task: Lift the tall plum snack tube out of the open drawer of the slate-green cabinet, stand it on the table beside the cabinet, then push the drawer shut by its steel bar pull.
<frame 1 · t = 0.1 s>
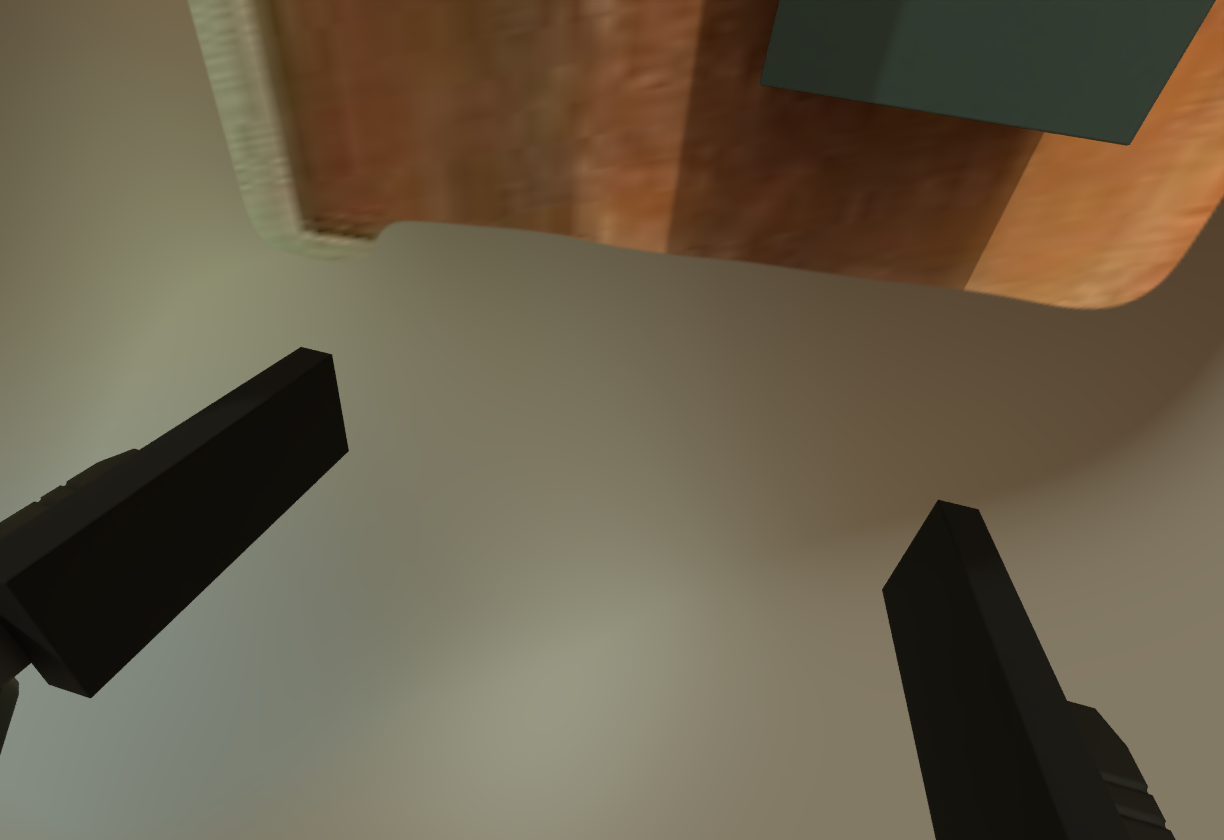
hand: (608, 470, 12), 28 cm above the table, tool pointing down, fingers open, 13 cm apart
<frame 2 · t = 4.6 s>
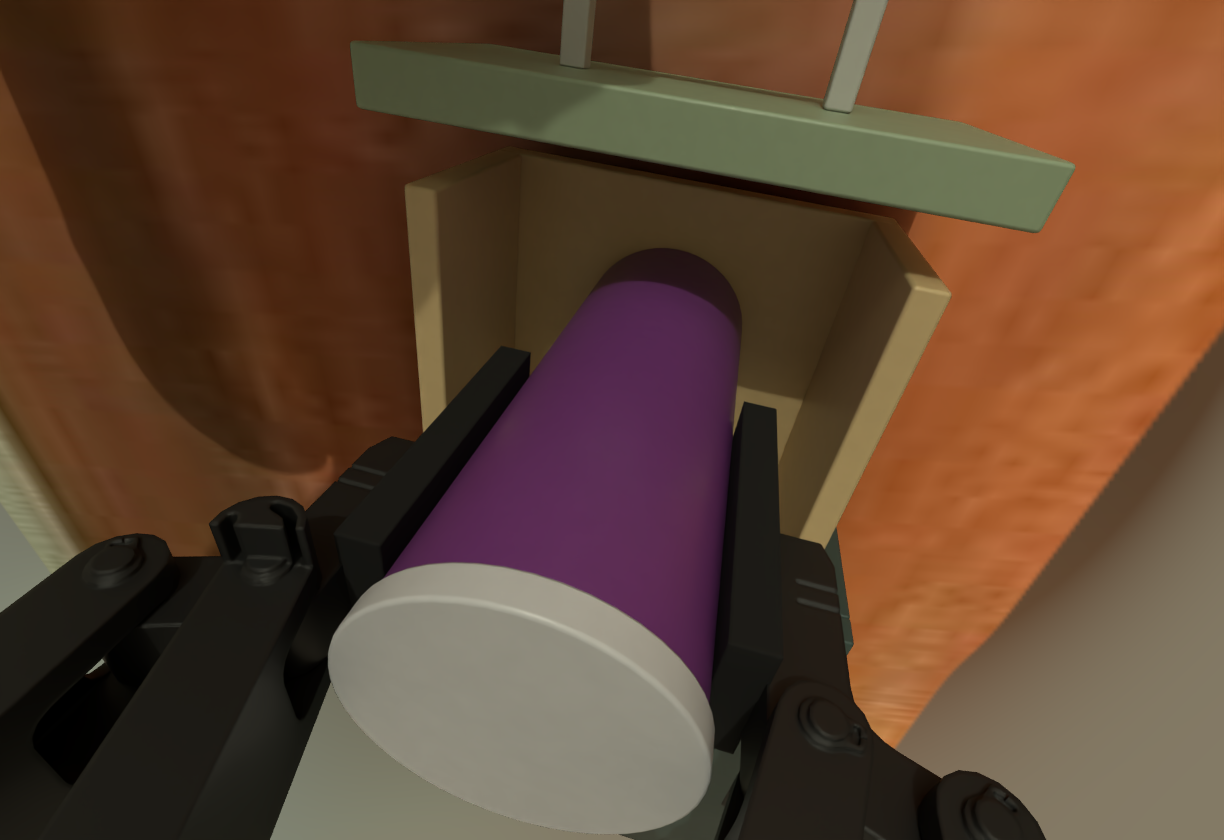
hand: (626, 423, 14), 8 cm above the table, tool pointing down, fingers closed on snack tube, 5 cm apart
cabinet: (621, 552, 28), on the table
snack tube: (663, 324, 19), point 2 cm above the table, touching drawer, gripper
drawer: (659, 314, 16), point 4 cm above the table, slide at 11.0 cm, touching snack tube
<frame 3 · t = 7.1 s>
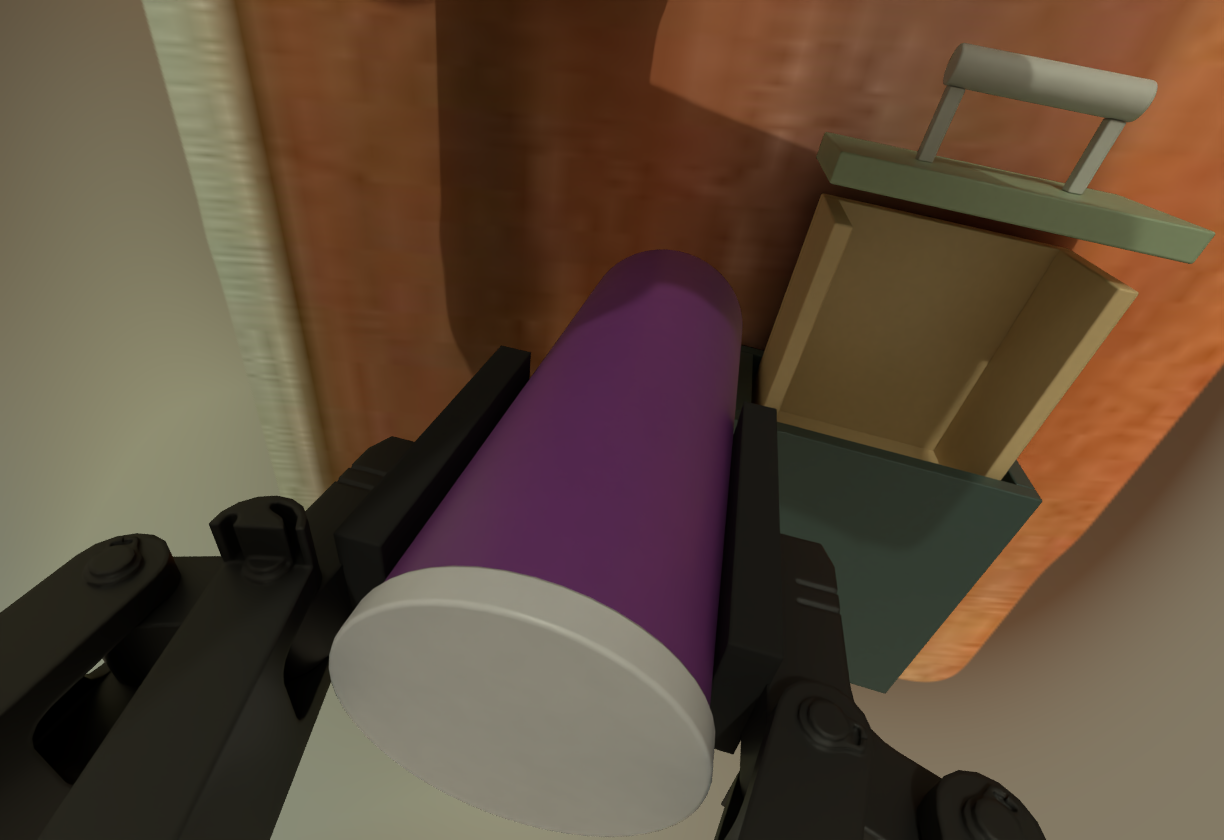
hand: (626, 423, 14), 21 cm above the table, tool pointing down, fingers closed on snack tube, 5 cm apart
cabinet: (808, 478, 39), on the table
snack tube: (663, 326, 19), point 15 cm above the table, touching gripper
drawer: (927, 301, 27), point 4 cm above the table, slide at 11.0 cm
when the fingers open (6 cm above the table, at t = 9.9 s): snack tube stays where it is, on the table.
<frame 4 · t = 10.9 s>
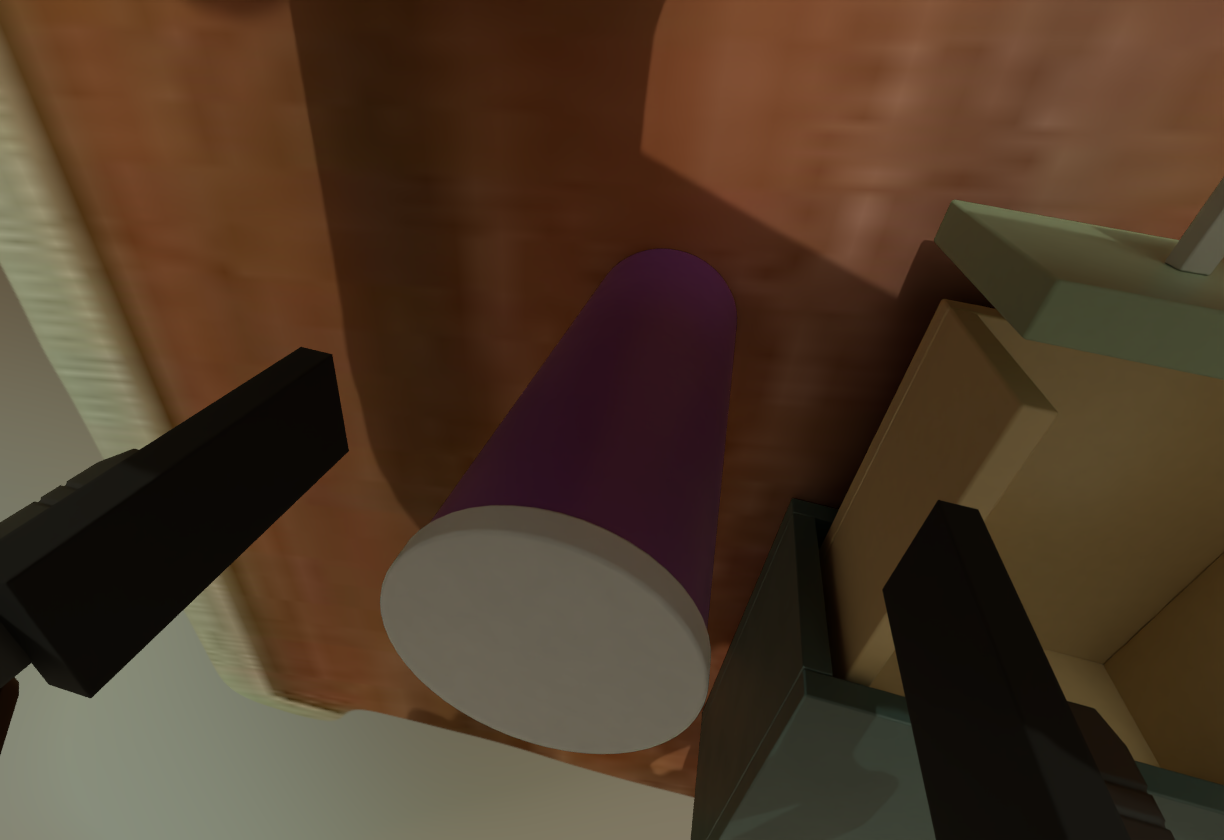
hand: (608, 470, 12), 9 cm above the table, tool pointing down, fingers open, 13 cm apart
cabinet: (891, 664, 27), on the table
snack tube: (663, 320, 20), on the table
drawer: (1146, 492, 15), point 4 cm above the table, slide at 11.0 cm
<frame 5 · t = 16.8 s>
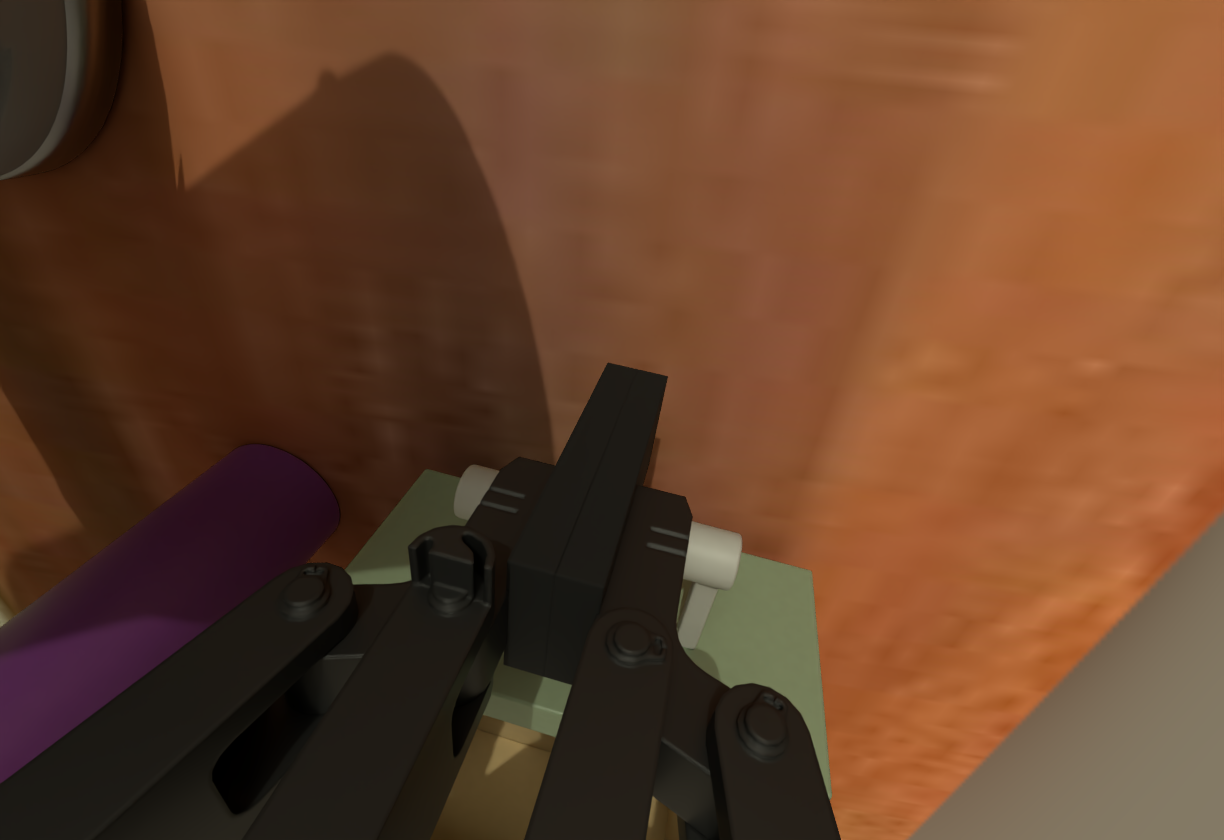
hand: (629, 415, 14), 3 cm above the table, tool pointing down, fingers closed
snack tube: (283, 493, 24), on the table
drawer: (567, 701, 20), point 4 cm above the table, slide at 9.8 cm, touching gripper
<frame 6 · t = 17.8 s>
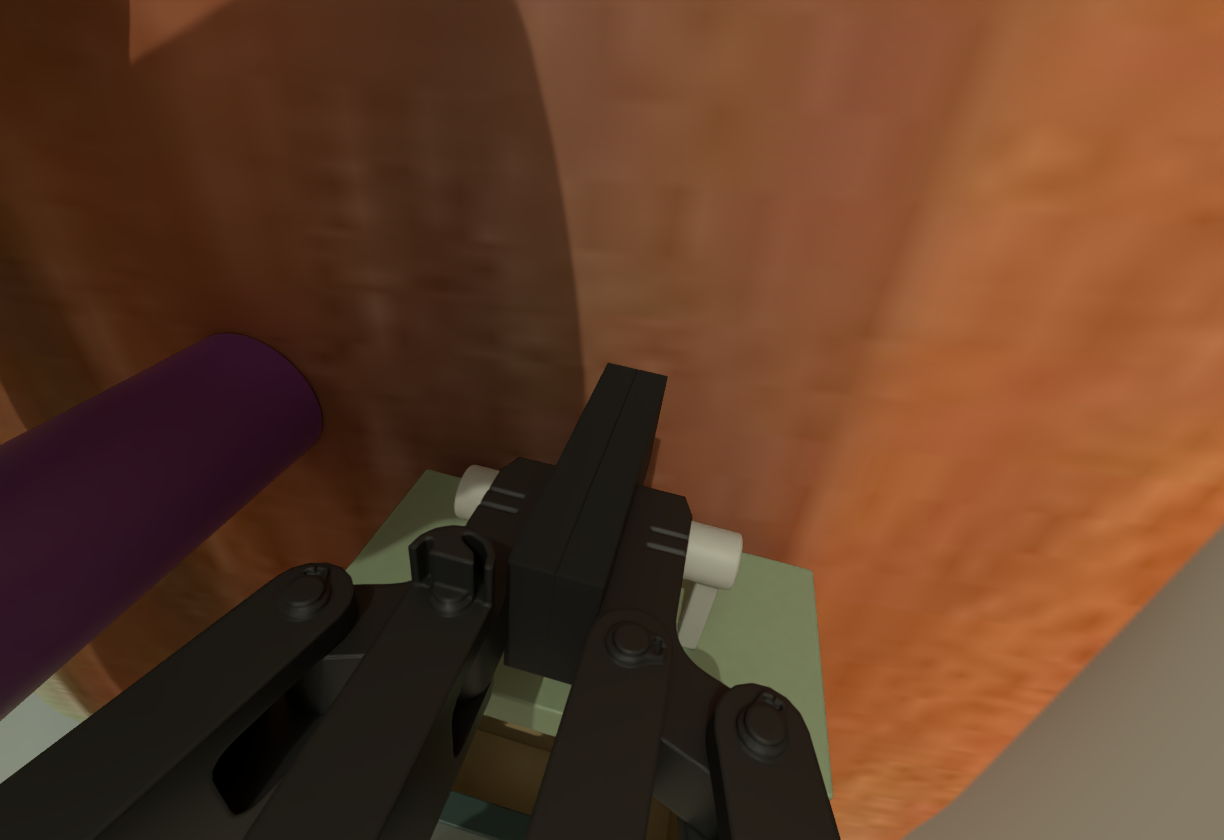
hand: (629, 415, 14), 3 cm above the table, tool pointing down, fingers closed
cabinet: (577, 709, 28), on the table
snack tube: (258, 396, 21), on the table
drawer: (568, 701, 20), point 4 cm above the table, slide at 4.8 cm, touching gripper
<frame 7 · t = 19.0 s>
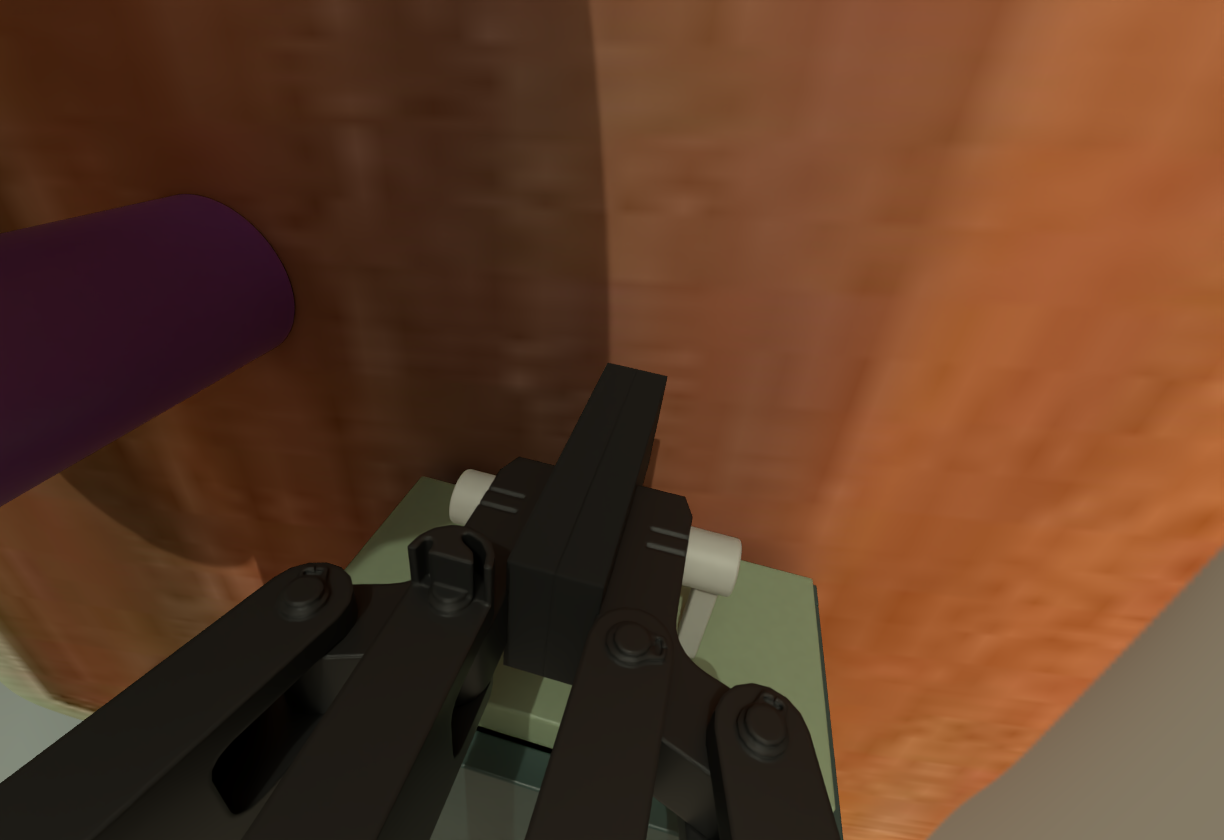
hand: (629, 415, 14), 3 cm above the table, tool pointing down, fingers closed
cabinet: (585, 665, 25), on the table
snack tube: (221, 278, 18), on the table
drawer: (564, 713, 19), point 4 cm above the table, slide at 0.0 cm, touching cabinet, gripper
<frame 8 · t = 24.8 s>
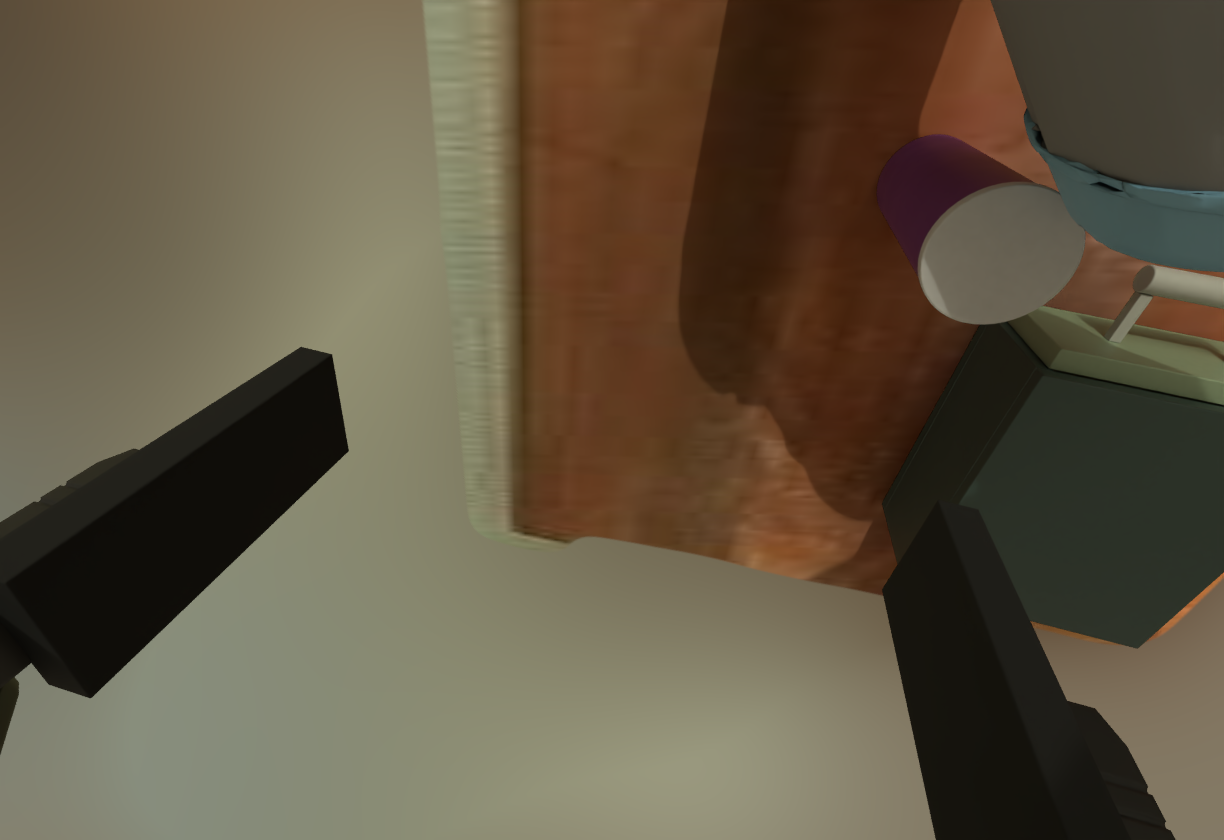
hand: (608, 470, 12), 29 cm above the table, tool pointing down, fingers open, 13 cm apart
cabinet: (1036, 442, 40), on the table
snack tube: (925, 184, 33), on the table, touching arm
drawer: (1100, 433, 34), point 4 cm above the table, slide at 0.0 cm, touching cabinet
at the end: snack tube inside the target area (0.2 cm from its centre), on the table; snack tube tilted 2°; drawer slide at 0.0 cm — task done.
